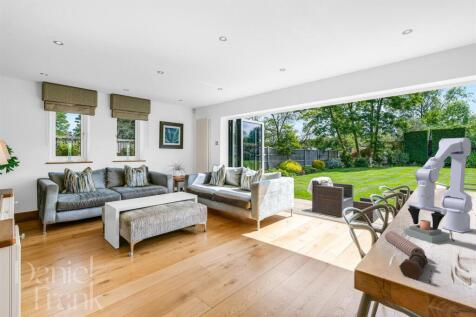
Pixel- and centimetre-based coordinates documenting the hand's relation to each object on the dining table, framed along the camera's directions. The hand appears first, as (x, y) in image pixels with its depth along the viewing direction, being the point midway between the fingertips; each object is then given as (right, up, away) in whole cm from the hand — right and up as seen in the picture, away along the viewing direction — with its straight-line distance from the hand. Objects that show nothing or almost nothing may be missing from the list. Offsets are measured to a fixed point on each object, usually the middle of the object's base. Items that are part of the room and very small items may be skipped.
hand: (425, 226), depth 102 cm
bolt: (-25, -6, -28) cm, 38 cm away
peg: (0, -5, 0) cm, 5 cm away
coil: (-19, -6, -13) cm, 24 cm away
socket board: (+1, -5, +1) cm, 5 cm away
